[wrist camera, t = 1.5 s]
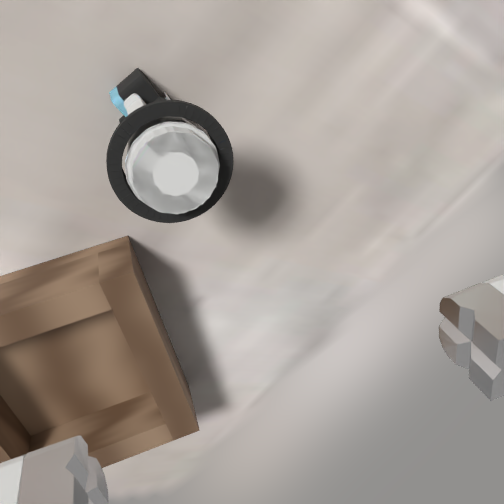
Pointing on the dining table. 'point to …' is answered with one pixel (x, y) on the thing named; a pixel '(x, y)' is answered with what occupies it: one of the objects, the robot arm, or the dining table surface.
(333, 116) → the dining table surface
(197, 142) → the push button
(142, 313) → the wooden tray
